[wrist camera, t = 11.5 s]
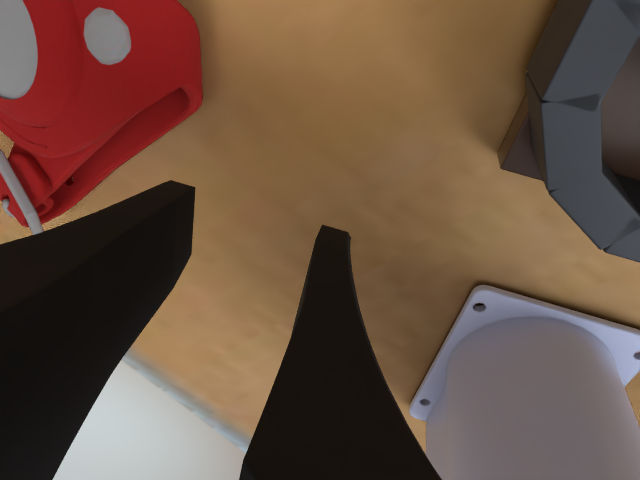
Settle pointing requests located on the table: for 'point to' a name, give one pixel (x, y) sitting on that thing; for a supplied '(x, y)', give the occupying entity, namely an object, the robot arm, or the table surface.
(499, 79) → the table surface
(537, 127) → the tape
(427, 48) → the table surface
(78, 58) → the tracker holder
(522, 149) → the brown peg stand
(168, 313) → the table surface
